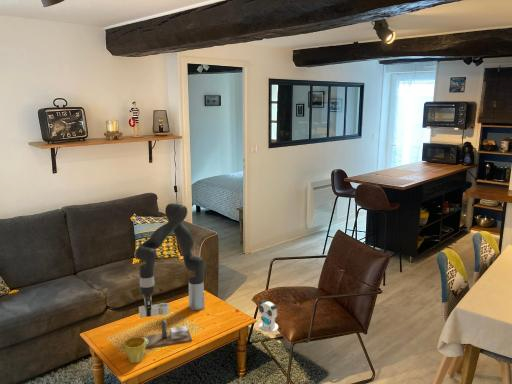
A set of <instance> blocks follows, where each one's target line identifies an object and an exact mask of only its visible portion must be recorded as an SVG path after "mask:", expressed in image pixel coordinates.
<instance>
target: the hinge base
mask: <svg viewBox="0 0 512 384" xmlns="http://www.w3.org/2000/svg"><path fill="white" fill-rule="evenodd" d="M139 337H145V338H147V339H148V340H149V343H148V344H146V347H145V348H146V349H150V348H149V347H152V348H156V347H157V346H159V347H164V346H163V345H165V346H170V344H171V345H176V344H183V343H188V342H193V340H192V338H193V337H192V336H191V333H190V330H189V328H188V325H182V326H174V327H170V328H169V331H167V320H166V319H163V320H161V333H154V334H148V335H147V334H146V335H141V336H140V335H139ZM157 348H158V347H157Z"/></svg>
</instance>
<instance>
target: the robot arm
mask: <svg viewBox="0 0 512 384" xmlns="http://www.w3.org/2000/svg"><path fill="white" fill-rule="evenodd" d="M164 214H165V217H166V219H167V221H168V222H166V223H164V224H162V225H161V226H159V227H158V228H157V229H155V230H154V231H153V233H152V234H151V235H150V237H149V238H148V239H147V240H145V242H143V243H142V244H141V245H139V246H138V247H137V249H136V250H135V258H136V259H137V260H139V261H144V262H145V263H144V264H141V265H140V266H139V293H140V294H141V295H143V300H144V301H143V302H144V306H146V314H147V317H146V318H148V317H152V316H151V305H153V304H152V299H153V298H152V297H153V296H152V295H153V294H154V293H155V291H156V288H155V287H156V285H155V272H154V266H155V263H156V259H157V252H156V249H159V248H160V247H161V245H162V244H163V243H164V242H165V240H166V239H167V238H168V236H169V235H170V234H171V233H172V232H173V233H174V235H175V238H176V241H177V244H178V246H179V250H180V251H181V253H182V258H183V262H184V265H185V268H186V270H187V271H190V272H194V273H195V274H191V275H190V276H189V277H188V308H189V309H190V310H192V311H200V310H202V309H205V305H206V304H205V302H206V301H205V293H204V292H205V289H204V288H205V287H204V286H205V285H204V283H205V282H204V279H205V269H206V267H205V266H206V265H205V258H203V257H201V256H196V255H193V254H192V249H193V247H194V244H195V239H194V237H193V234H192V232H191V230H190V229H189V228H188V227H187V226H186V225H185V224H184V223H183V222H184V220H185V219H186V218H187V217H188V208H187V207H186V205H184V204H179V203H174V202H173V203H172V202H170V203H168V204H167V205H166V207H165V213H164ZM148 307H150V308H148Z"/></svg>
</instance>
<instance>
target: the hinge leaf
mask: <svg viewBox="0 0 512 384" xmlns="http://www.w3.org/2000/svg"><path fill="white" fill-rule="evenodd" d="M148 308H150V307H148ZM138 313H139V315H138V316H139V318H140V319H141V318H148V317H147V314H146V306H145V305H141V306H138ZM169 313H170V304H169V303H168V302H159V303H157V304H152V305H151V316H150V317H157V316H165V315H168V314H169Z"/></svg>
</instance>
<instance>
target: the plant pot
mask: <svg viewBox="0 0 512 384" xmlns="http://www.w3.org/2000/svg"><path fill="white" fill-rule="evenodd" d="M123 345H124V347H123V348H124V351H125V352H126V355H127V358H128V360H129V362H130V363H131V364H138V363H141V362H142V361H143V360H144V353H145V347H146V341H145V339H144V338H142V337H140V336H133V337H130V338H128V339H126V340H125V342H124V344H123Z"/></svg>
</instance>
